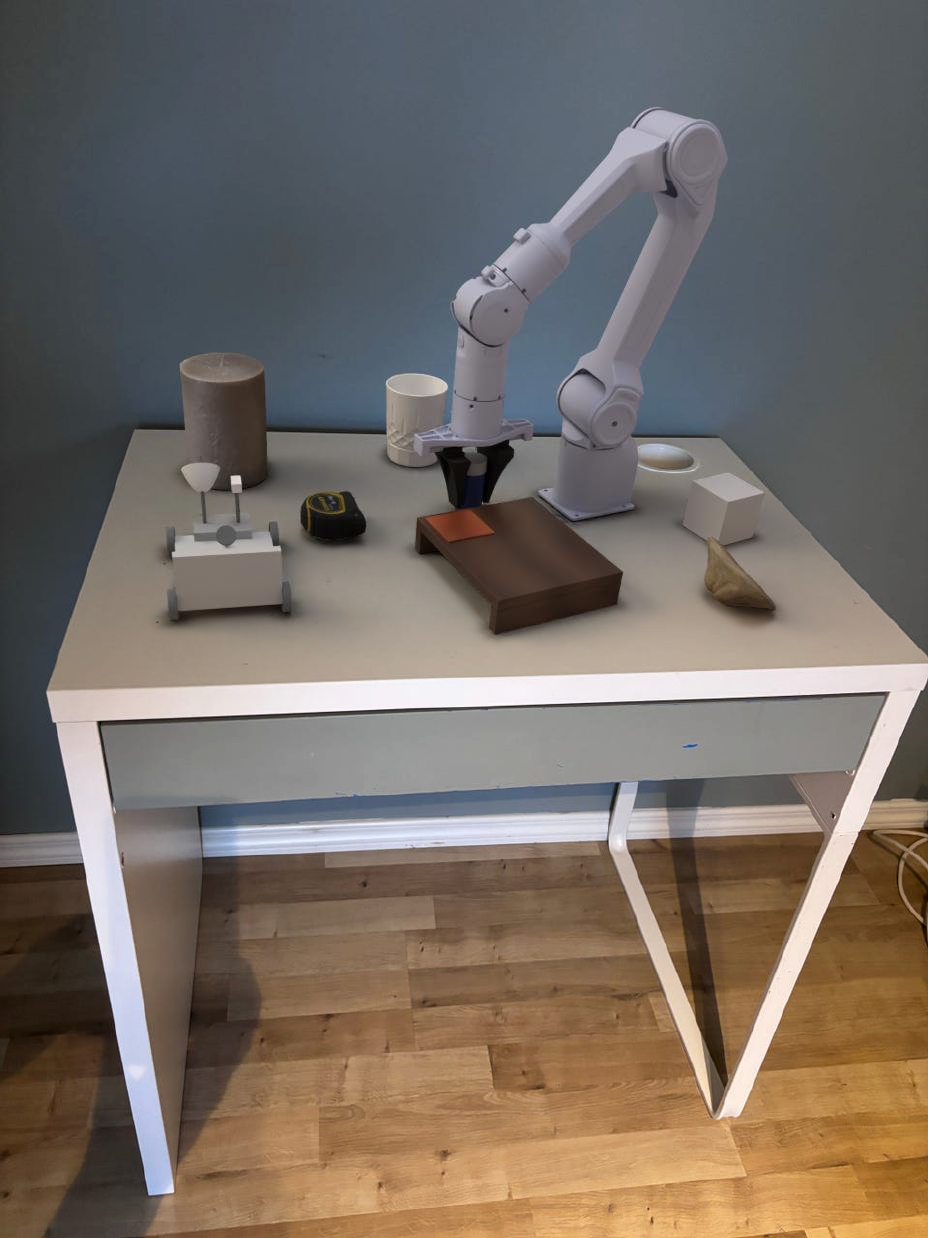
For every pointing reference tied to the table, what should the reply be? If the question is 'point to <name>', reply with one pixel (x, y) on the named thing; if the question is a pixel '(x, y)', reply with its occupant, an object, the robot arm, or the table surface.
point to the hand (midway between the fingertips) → (469, 501)
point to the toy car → (224, 556)
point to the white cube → (723, 508)
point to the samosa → (732, 580)
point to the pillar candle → (226, 415)
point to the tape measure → (332, 516)
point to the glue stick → (474, 481)
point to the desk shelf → (522, 561)
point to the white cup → (413, 415)
